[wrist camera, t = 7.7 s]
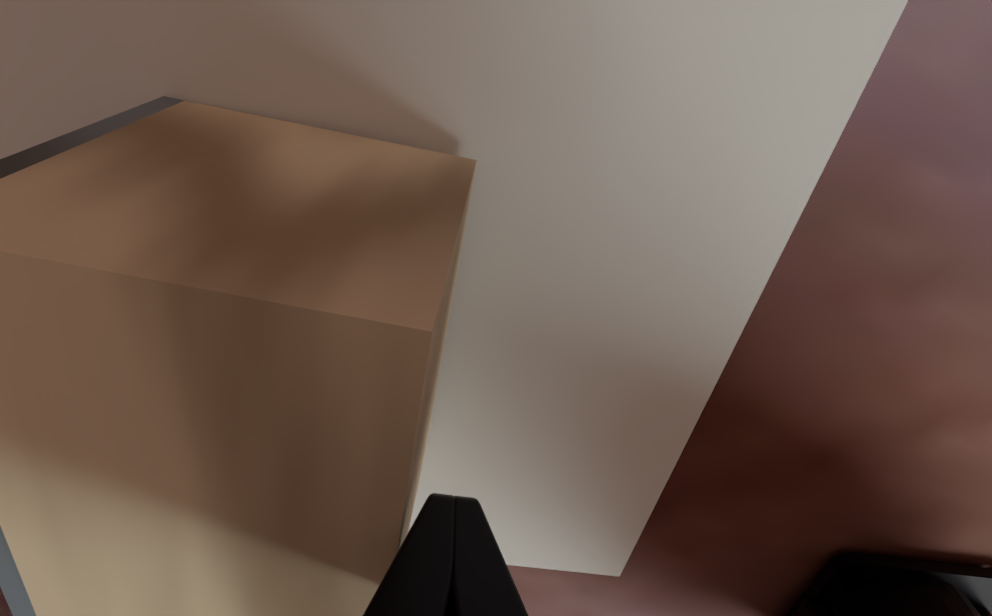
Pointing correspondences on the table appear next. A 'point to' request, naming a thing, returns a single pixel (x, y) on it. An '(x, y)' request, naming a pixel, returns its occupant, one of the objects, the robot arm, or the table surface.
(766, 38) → the rubber mat
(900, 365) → the table surface
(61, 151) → the beech block
